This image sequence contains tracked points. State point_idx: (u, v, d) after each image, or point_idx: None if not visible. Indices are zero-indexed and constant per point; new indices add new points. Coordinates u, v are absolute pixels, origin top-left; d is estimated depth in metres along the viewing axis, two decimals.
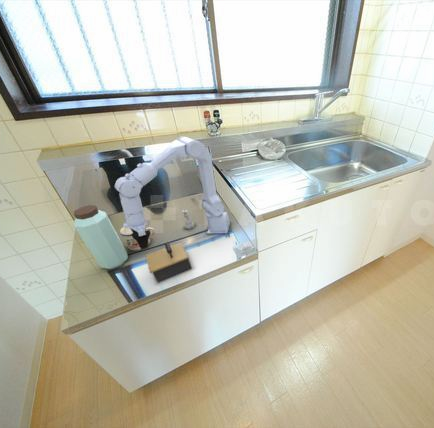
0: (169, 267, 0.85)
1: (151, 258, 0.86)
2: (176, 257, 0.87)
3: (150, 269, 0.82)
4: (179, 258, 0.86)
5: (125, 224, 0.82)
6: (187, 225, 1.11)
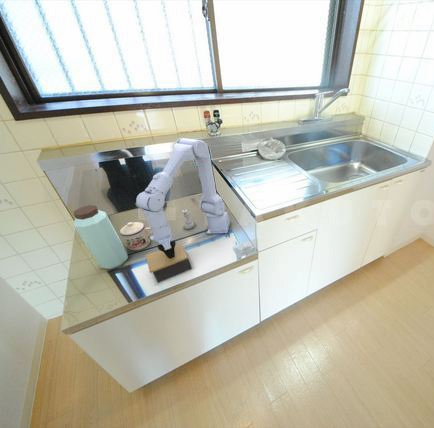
0: (169, 267, 0.85)
1: (151, 258, 0.86)
2: (176, 257, 0.87)
3: (150, 269, 0.82)
4: (179, 258, 0.86)
5: (152, 237, 0.81)
6: (187, 225, 1.11)
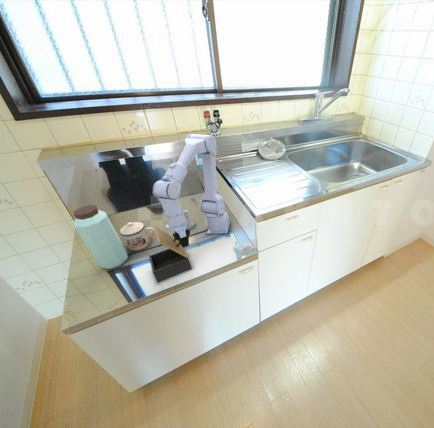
0: (169, 267, 0.85)
1: (160, 232, 0.84)
2: (179, 249, 0.86)
3: (160, 239, 0.79)
4: (182, 252, 0.86)
5: (167, 225, 0.82)
6: (187, 225, 1.11)
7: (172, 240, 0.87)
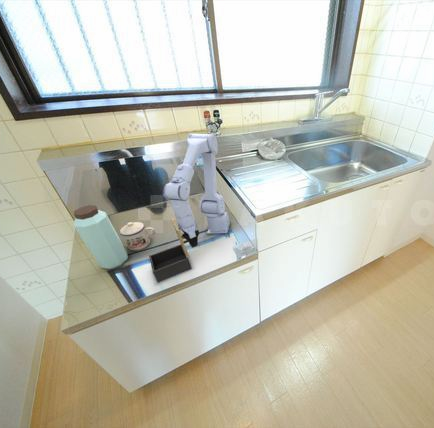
0: (169, 267, 0.85)
1: None
2: None
3: (178, 229, 0.81)
4: (186, 250, 0.86)
5: None
6: None
7: None
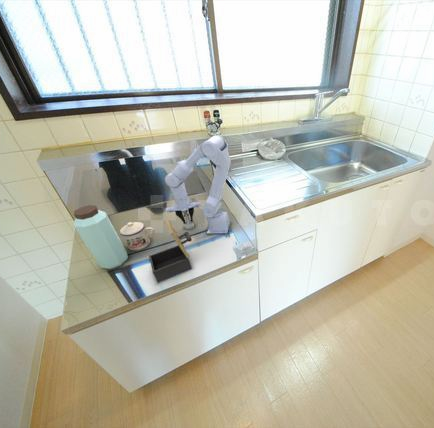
0: (169, 267, 0.85)
1: (171, 225, 0.85)
2: (183, 247, 0.87)
3: (172, 231, 0.80)
4: (185, 250, 0.86)
5: (183, 209, 1.04)
6: (187, 225, 1.11)
7: (178, 237, 0.88)
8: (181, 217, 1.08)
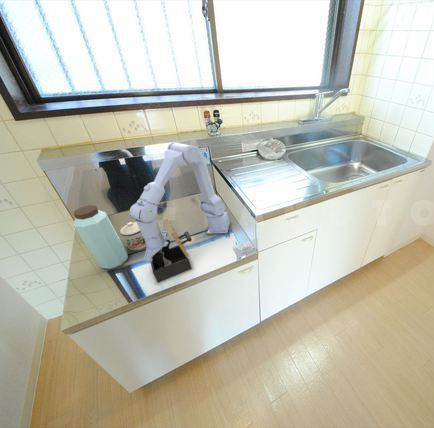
0: (169, 267, 0.85)
1: (171, 225, 0.85)
2: (183, 247, 0.87)
3: (172, 231, 0.80)
4: (185, 250, 0.86)
5: (165, 243, 0.84)
6: (167, 264, 0.89)
7: (178, 237, 0.88)
8: (162, 258, 0.84)
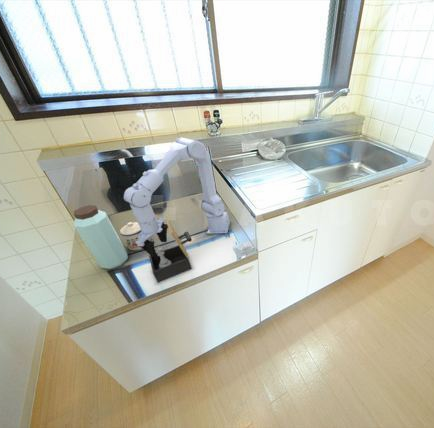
0: (169, 267, 0.85)
1: (171, 225, 0.85)
2: (183, 247, 0.87)
3: (172, 231, 0.80)
4: (185, 250, 0.86)
5: (159, 229, 0.84)
6: (167, 264, 0.89)
7: (178, 237, 0.88)
8: (153, 247, 0.83)
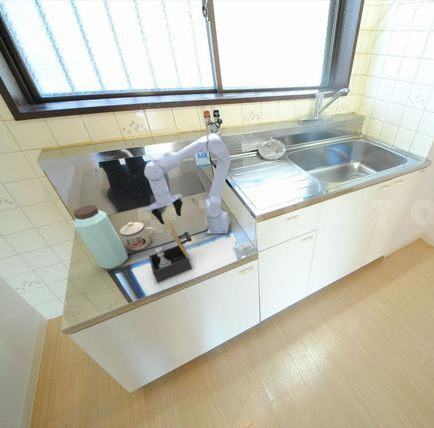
0: (169, 267, 0.85)
1: (171, 225, 0.85)
2: (183, 247, 0.87)
3: (172, 231, 0.80)
4: (185, 250, 0.86)
5: (168, 203, 0.94)
6: (167, 264, 0.89)
7: (178, 237, 0.88)
8: (160, 217, 0.95)
